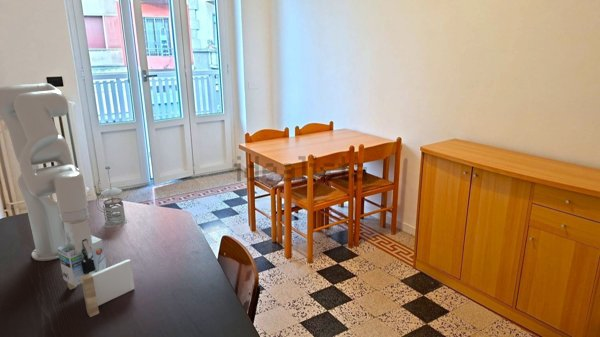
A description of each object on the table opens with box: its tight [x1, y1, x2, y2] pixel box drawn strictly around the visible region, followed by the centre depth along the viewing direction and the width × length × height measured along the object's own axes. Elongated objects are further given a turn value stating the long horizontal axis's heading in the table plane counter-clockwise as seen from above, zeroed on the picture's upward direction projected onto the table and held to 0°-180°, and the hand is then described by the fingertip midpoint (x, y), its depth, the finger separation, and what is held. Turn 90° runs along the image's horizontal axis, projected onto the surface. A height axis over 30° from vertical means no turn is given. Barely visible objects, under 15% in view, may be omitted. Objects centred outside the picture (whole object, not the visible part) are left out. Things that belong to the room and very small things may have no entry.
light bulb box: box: [58, 234, 107, 286], centre depth 127 cm, size 11×7×11 cm, turn 148°
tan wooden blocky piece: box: [66, 273, 100, 318], centre depth 124 cm, size 20×2×12 cm, turn 44°
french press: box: [95, 165, 129, 229], centre depth 173 cm, size 10×12×25 cm
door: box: [91, 258, 136, 307], centre depth 125 cm, size 14×1×10 cm, turn 139°
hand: (84, 266), depth 128 cm, fingers closed on light bulb box, 7 cm apart
